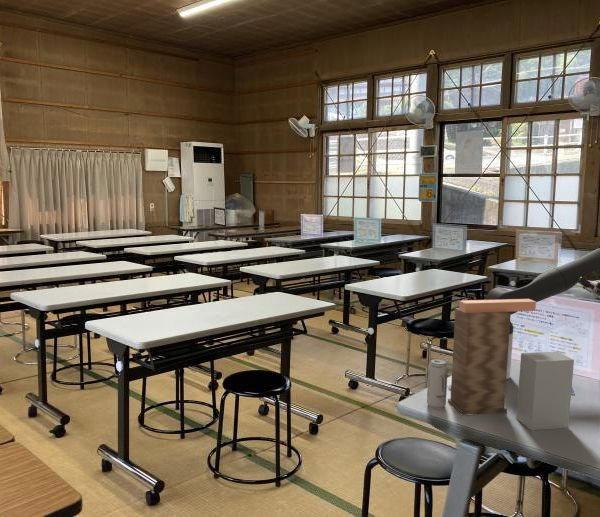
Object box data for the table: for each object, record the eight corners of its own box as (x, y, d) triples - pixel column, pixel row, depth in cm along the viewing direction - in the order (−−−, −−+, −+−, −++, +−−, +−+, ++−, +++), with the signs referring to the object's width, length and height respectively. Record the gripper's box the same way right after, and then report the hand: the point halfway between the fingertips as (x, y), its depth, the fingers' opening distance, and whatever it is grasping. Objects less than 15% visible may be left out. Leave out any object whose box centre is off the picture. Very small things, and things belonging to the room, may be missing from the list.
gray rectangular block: (531, 430, 163) (536, 361, 160) (516, 418, 171) (521, 353, 168) (568, 427, 165) (574, 359, 162) (551, 416, 173) (557, 351, 170)
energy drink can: (439, 411, 176) (442, 365, 174) (423, 406, 180) (425, 361, 178) (449, 405, 180) (451, 361, 178) (432, 400, 184) (434, 357, 182)
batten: (464, 312, 172) (465, 303, 171) (458, 309, 175) (459, 300, 175) (535, 310, 176) (536, 301, 175) (528, 307, 180) (528, 298, 179)
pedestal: (461, 415, 173) (467, 315, 168) (447, 402, 183) (452, 307, 178) (506, 412, 176) (513, 313, 171) (490, 399, 186) (496, 306, 181)
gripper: (635, 320, 175) (597, 296, 171) (603, 310, 189) (567, 287, 185) (647, 300, 174) (610, 275, 171) (614, 291, 188) (579, 268, 185)
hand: (588, 281), depth 178 cm, fingers open, 8 cm apart
